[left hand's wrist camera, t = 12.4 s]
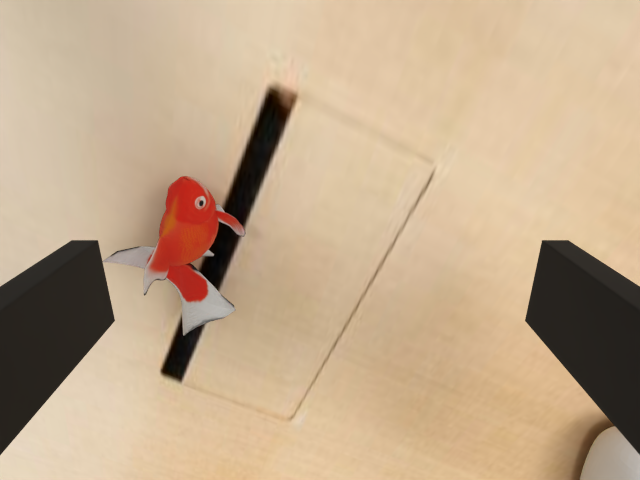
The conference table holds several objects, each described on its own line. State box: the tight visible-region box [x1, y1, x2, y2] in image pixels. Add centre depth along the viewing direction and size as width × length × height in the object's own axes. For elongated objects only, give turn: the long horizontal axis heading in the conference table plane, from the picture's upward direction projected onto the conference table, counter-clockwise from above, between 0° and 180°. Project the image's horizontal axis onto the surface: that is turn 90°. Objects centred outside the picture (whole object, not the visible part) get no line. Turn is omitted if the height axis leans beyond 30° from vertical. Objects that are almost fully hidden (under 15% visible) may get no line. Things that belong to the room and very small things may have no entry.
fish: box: [102, 176, 245, 336], centre depth 35 cm, size 11×16×10 cm
